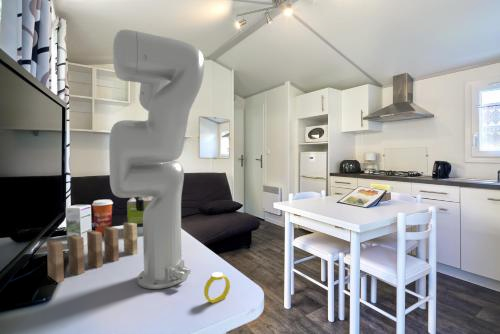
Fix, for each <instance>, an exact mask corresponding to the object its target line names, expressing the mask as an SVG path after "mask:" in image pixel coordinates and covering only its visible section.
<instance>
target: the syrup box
mask: <svg viewBox="0 0 500 334" xmlns="http://www.w3.org/2000/svg"><path fill="white" fill-rule="evenodd" d="M65 216H66V217H65V222H66V238H67V239H66V241H67V244H66V245H67V247H69V245H68V236H71V235H77V236H80V237H83V238H84V247H85V246H87V232H88V231H92V230H93V229H92V204H74V205H70V206H67V207H65Z"/></svg>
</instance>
